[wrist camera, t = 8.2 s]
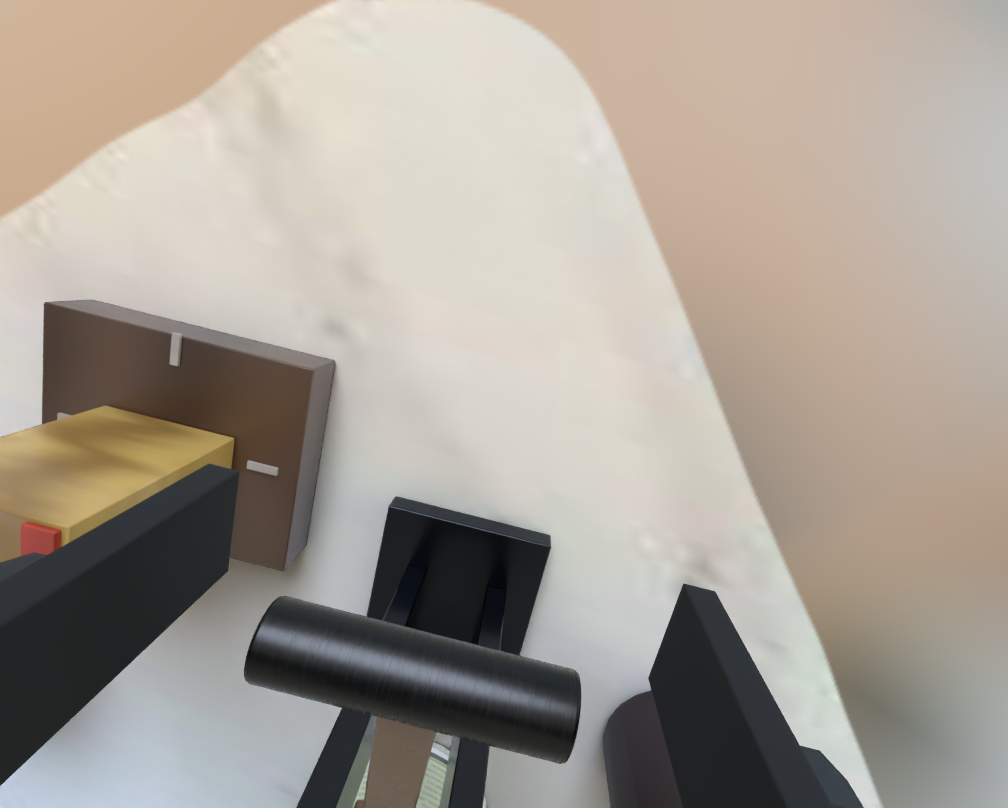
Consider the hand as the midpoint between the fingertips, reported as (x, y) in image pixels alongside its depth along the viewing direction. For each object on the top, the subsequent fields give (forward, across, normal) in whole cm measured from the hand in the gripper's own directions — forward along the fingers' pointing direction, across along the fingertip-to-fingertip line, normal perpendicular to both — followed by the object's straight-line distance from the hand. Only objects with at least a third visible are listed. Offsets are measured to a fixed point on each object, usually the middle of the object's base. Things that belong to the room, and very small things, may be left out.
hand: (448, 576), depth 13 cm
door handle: (-1, 0, -5) cm, 5 cm away
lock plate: (+13, -14, -4) cm, 19 cm away
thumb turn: (+10, -14, -4) cm, 18 cm away
